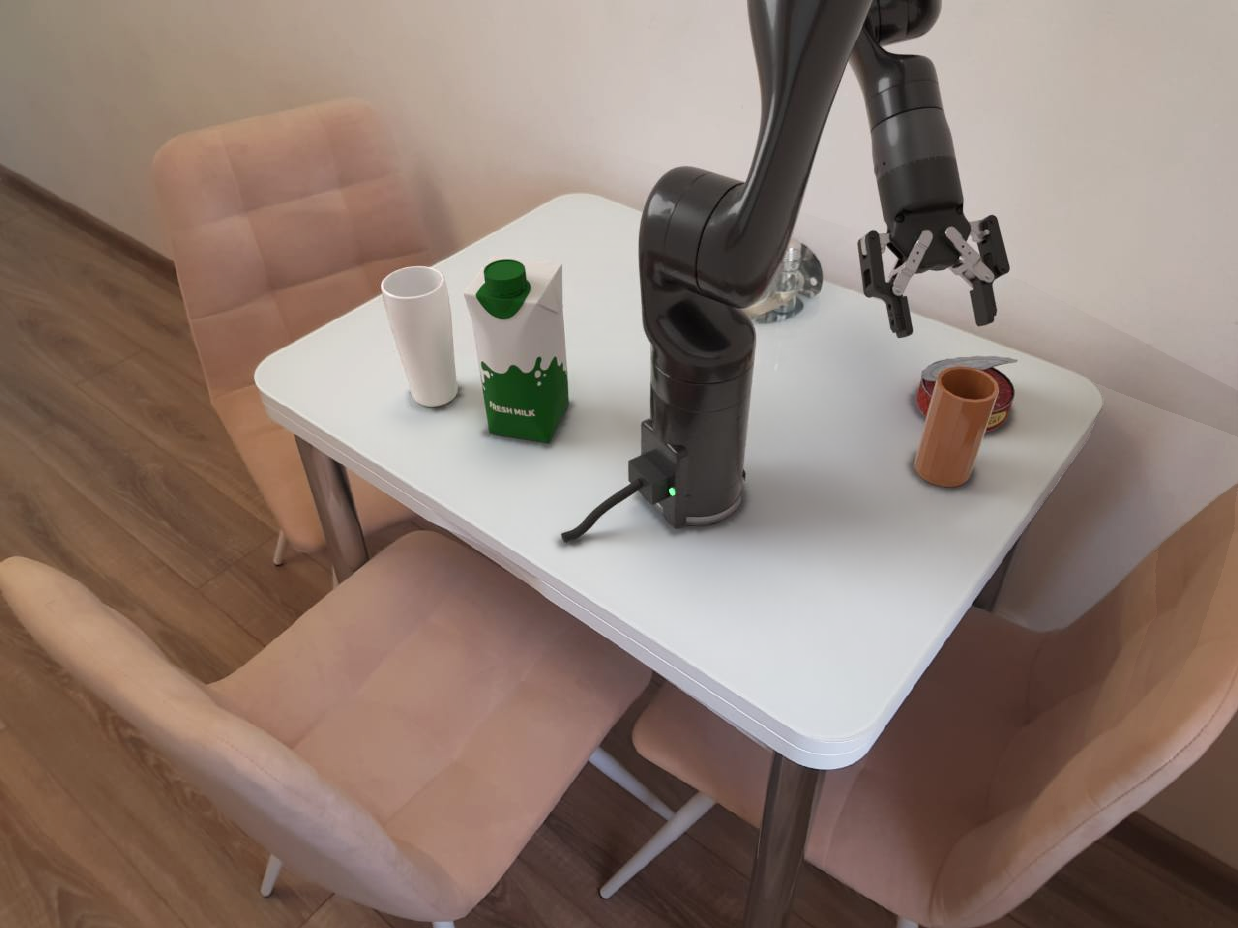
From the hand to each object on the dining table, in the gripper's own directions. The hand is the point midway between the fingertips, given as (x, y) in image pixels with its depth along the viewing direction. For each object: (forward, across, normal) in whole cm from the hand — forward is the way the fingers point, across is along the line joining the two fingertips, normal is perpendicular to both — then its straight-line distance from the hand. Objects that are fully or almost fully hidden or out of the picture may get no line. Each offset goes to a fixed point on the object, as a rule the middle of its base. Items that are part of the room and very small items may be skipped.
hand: (946, 330), depth 86 cm
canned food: (+7, +7, +12) cm, 16 cm away
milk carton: (0, -40, +19) cm, 44 cm away
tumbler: (+13, 0, +6) cm, 15 cm away
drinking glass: (-5, -50, +24) cm, 56 cm away
